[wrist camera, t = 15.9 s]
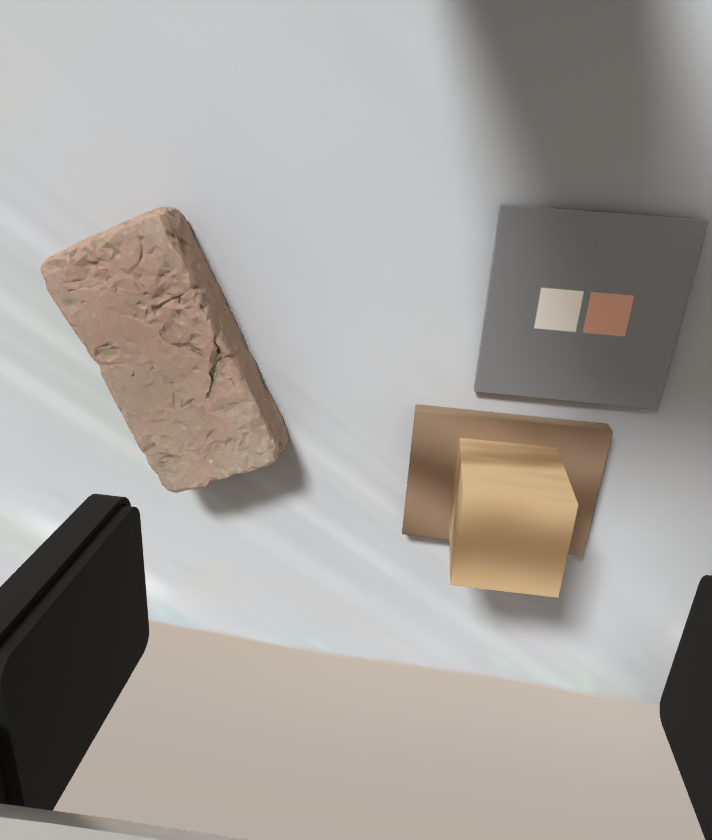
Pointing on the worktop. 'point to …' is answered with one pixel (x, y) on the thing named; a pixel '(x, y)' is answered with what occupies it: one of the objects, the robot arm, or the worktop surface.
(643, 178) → the worktop surface
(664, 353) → the pad
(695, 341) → the worktop surface
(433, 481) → the walnut board
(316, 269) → the worktop surface
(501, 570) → the oak block
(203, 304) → the brick
